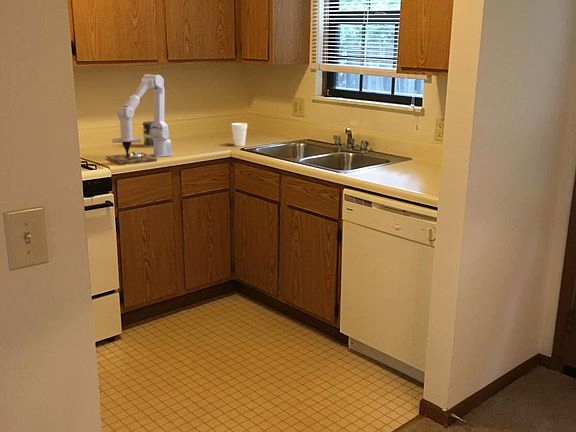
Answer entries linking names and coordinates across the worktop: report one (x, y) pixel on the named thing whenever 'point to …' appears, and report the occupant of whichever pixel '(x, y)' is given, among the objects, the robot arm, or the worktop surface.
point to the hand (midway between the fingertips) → (127, 156)
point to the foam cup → (239, 133)
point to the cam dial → (134, 155)
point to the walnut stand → (124, 160)
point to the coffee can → (147, 134)
